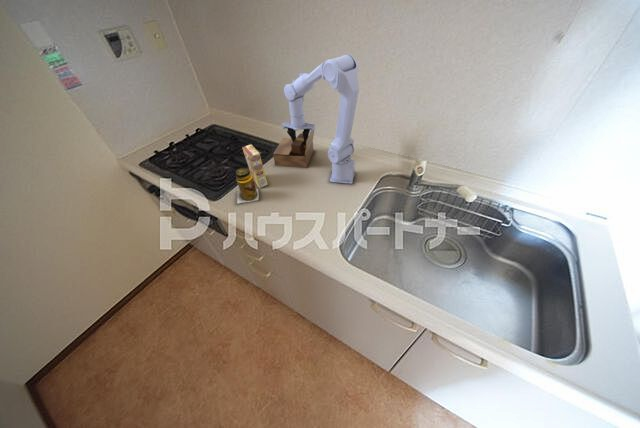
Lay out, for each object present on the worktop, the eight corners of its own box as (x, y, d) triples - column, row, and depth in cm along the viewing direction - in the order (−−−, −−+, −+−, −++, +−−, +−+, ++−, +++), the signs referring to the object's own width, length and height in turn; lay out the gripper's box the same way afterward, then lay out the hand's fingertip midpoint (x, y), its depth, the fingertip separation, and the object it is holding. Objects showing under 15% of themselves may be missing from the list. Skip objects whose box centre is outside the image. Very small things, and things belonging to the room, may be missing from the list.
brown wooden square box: (313, 151, 119) (312, 139, 114) (306, 168, 108) (305, 156, 104) (285, 149, 121) (283, 137, 117) (275, 165, 111) (272, 153, 107)
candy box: (268, 184, 100) (260, 152, 90) (259, 188, 99) (249, 156, 88) (260, 175, 106) (251, 143, 95) (251, 178, 104) (241, 146, 94)
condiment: (259, 200, 94) (251, 175, 85) (237, 204, 93) (227, 179, 84) (258, 189, 99) (251, 164, 90) (237, 192, 98) (228, 168, 89)
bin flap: (312, 139, 114) (313, 139, 114) (304, 156, 104) (305, 156, 104) (314, 125, 109) (314, 125, 109) (306, 140, 99) (306, 141, 99)
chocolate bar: (309, 142, 113) (308, 134, 110) (300, 153, 106) (299, 145, 103) (300, 141, 114) (300, 133, 111) (292, 152, 107) (290, 144, 104)
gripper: (277, 117, 98) (282, 147, 107) (311, 119, 95) (313, 149, 105) (283, 110, 103) (287, 139, 112) (315, 112, 100) (317, 142, 109)
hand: (300, 144), depth 109 cm, fingers closed on chocolate bar, 4 cm apart
